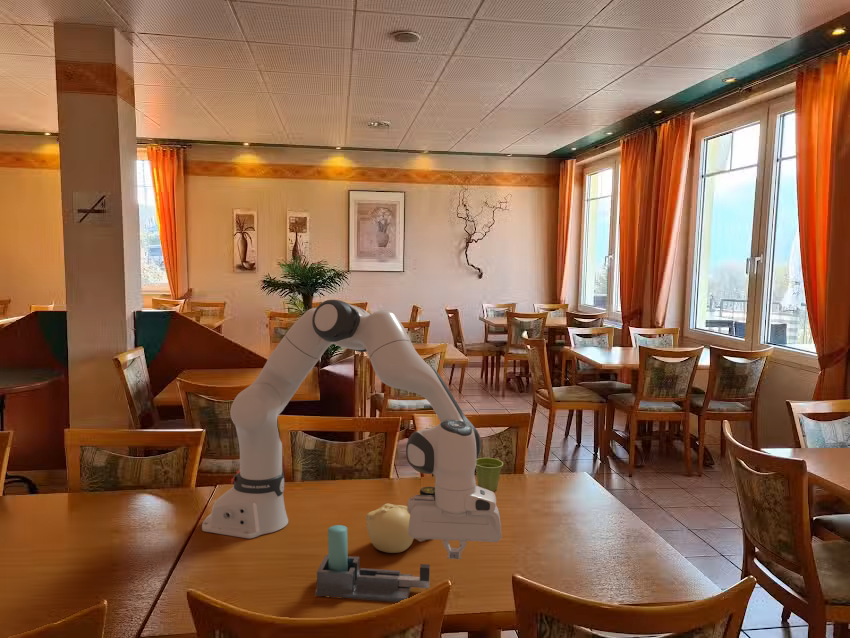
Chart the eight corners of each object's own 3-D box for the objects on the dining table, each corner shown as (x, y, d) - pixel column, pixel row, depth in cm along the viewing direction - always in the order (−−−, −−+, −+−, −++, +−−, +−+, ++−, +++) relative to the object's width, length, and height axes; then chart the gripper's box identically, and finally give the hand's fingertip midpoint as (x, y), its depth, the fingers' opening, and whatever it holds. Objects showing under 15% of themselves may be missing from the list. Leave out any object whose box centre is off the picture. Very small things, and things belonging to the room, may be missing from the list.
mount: (412, 578, 142) (412, 557, 141) (407, 602, 132) (407, 580, 131) (326, 573, 143) (326, 552, 143) (315, 596, 133) (315, 574, 133)
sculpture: (398, 533, 165) (399, 493, 164) (422, 551, 155) (423, 509, 154) (360, 542, 159) (360, 502, 158) (382, 562, 149) (383, 519, 148)
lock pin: (429, 584, 137) (429, 564, 137) (428, 588, 135) (429, 568, 135) (375, 581, 138) (375, 561, 138) (374, 584, 136) (374, 564, 136)
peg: (326, 585, 136) (326, 533, 135) (330, 575, 140) (330, 524, 139) (345, 586, 136) (345, 533, 135) (349, 576, 140) (348, 525, 139)
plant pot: (506, 486, 201) (507, 460, 200) (497, 496, 192) (498, 469, 192) (478, 481, 205) (479, 456, 204) (469, 491, 196) (469, 464, 195)
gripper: (405, 500, 132) (405, 562, 133) (502, 504, 130) (501, 567, 131) (409, 489, 138) (408, 548, 139) (501, 492, 136) (500, 553, 138)
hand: (454, 557), depth 135 cm, fingers closed
